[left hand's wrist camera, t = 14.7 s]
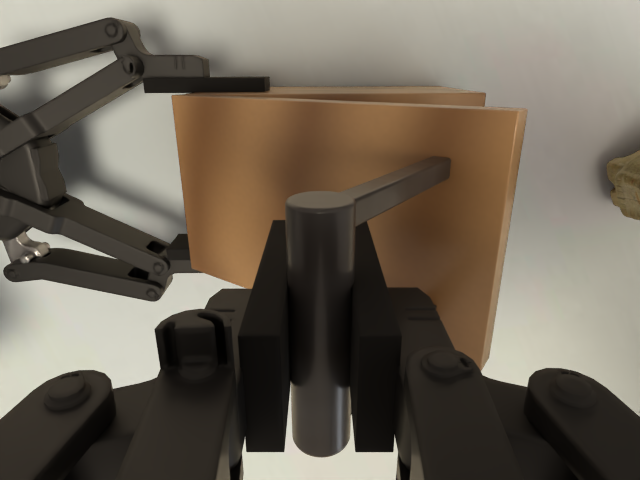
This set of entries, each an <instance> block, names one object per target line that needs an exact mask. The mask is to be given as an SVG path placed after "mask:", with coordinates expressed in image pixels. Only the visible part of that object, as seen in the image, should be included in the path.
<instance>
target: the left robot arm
mask: <svg viewBox="0 0 640 480" xmlns="http://www.w3.org/2000/svg"><path fill="white" fill-rule="evenodd" d="M155 335H156V342H157V348H158V355H159V361H160V368H161V369H160V372H159V374H158V377H157V378H155V379H152V380H150V381H146V382H143V383H139V384H134V385H130V386H125V387H120V388H115V389H113V388H112V383H111V380H110V378H109V377H108V376H107V375H106V374H105V373H102V372H98V371H95V370H79V371H74V372H69V373H65V374H62V375H60V376H57V377H55V378H53V379H51V380H48V381H46V382H45V383H43V384H42V385H40V386H39V387H38V388H36V389H35V390H33V391H32V392H31V393H30V394H29V395H28V396H26V397H25V398H24V399H23V400H22V401H21V402H20V403H18V404H17V405H16V406H15V407H14V408H13V409H12V410H11V411H9V412H8V413H7V414H6V415H5V416H4V417H3V418H1V419H0V480H243V461H242V449H243V444H244V439H246V451H247V452H284V448H285V437H286V426H287V415H288V405H289V394H290V383H291V373H290V342H289V309H288V281H287V252H286V222H285V220H273V222H272V225H271V228H270V232H269V235H268V238H267V241H266V245H265V248H264V251H263V254H262V258H261V261H260V264H259V268H258V271H257V274H256V277H255V281H254V284H253V287H252V289H221V290H220V291H219V292H217V293H216V294H215V295H214V296H212V297H211V298H210V299H209V301H208V303H207V305H206V307H205V309H196V310H188V311H184V312H180V313H177V314H174V315H172V316H170V317H168V318H167V319H165V320H163V321H162V322H161V323H160V324H159V325H158V326H157V327H156V328H155ZM350 397H351V408H352V419H353V430H354V441H355V452H393V447H394V434H395V438H396V443H397V448H398V461H397V474H396V480H640V417H639V416H638V415H637V414H636V413H635V412H633V411H632V410H631V409H630V408H629V407H628V406H627V405H625V404H624V403H623V402H622V401H621V400H620V399H619V398H617V397H616V396H615V395H614V394H613V393H612V392H611V391H609V390H608V389H607V388H606V387H604V386H603V385H601V384H600V383H598V382H597V381H596V380H594V379H592V378H590V377H588V376H585V375H583V374H581V373H578V372H575V371H572V370H567V369H562V368H545V369H542V370H538V371H535V372H534V373H533V374H532V375H531V376H530V378H529V382H528V386H527V387H524V386H520V385H515V384H510V383H505V382H501V381H497V380H493V379H490V378H487V377H485V376H483V375H482V373H481V371H480V369H479V367H478V366H477V364H476V363H475V362H474V360H473V359H471V358H470V357H469V356H467V355H466V354H464V353H463V352H460V351H457V350H455V348H454V346H453V344H452V342H451V340H450V337H449V335H448V333H447V331H446V329H445V327H444V325H443V323H442V321H441V320H440V317H439V314H438V312H437V310H435V306H434V304H433V302H432V300H431V298H430V297H429V296H428V295H427V294H426V293H424V292H423V291H422V290H420V289H419V288H418V287H387V285H386V282H385V279H384V275H383V272H382V269H381V266H380V262H379V259H378V256H377V252H376V249H375V246H374V243H373V239H372V236H371V233H370V230H369V226H368V223H367V221H366V222H364V223H362V224H360V225H358V226H356V229H355V267H354V283H353V285H352V315H351V351H350Z"/></svg>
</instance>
